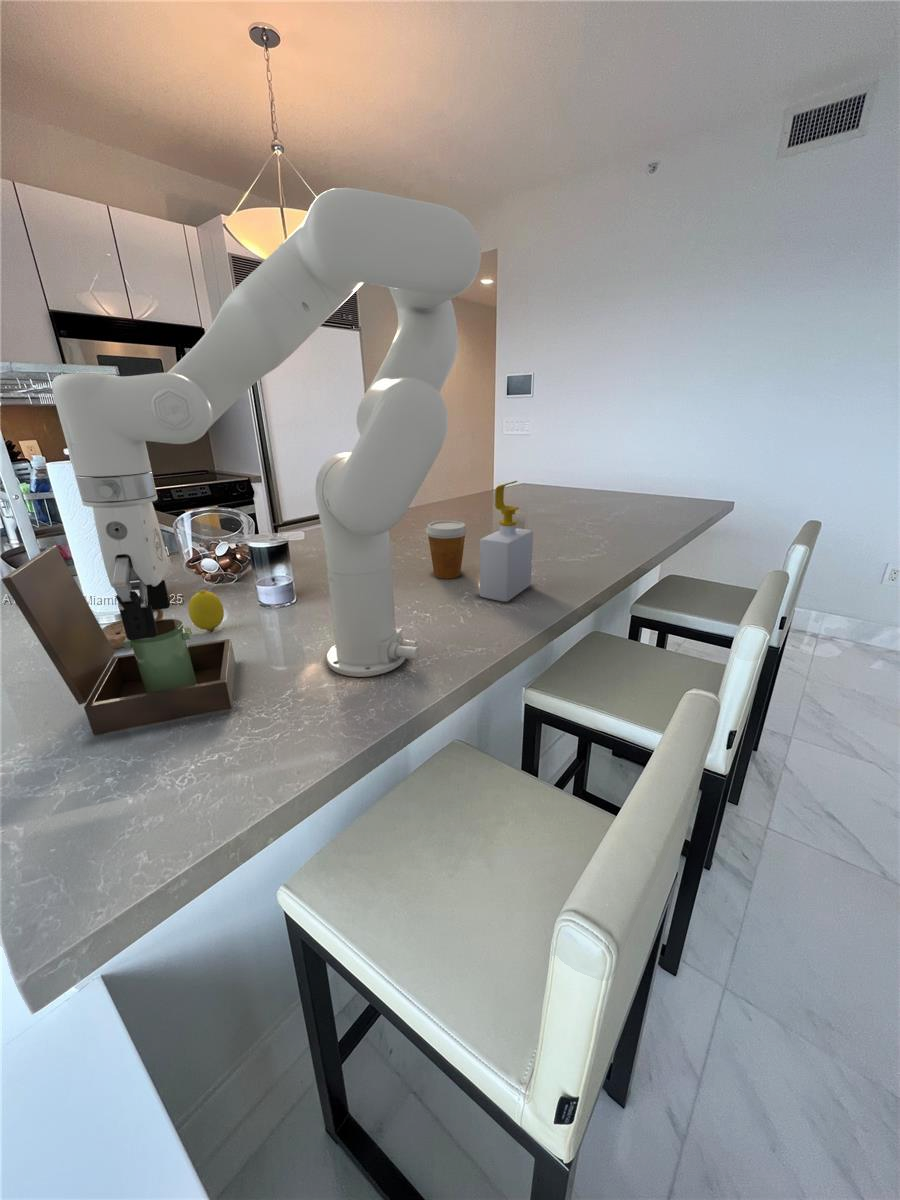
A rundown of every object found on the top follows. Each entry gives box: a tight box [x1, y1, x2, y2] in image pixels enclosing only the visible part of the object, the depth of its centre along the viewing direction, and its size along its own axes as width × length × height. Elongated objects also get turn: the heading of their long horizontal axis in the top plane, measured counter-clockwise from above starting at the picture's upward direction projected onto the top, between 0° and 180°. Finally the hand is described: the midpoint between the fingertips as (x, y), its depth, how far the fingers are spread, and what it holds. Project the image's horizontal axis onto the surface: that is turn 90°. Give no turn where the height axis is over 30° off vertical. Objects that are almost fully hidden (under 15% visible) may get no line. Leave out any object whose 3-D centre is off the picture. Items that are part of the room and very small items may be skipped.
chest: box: [83, 638, 236, 736], centre depth 67 cm, size 16×14×5 cm
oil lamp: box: [102, 609, 164, 651], centre depth 84 cm, size 13×8×5 cm, turn 151°
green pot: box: [123, 618, 197, 693], centre depth 66 cm, size 8×6×10 cm
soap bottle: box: [479, 480, 534, 603], centre depth 101 cm, size 12×7×23 cm, turn 147°
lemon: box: [188, 589, 225, 633], centre depth 87 cm, size 6×6×8 cm
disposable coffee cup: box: [425, 520, 468, 579], centre depth 114 cm, size 10×10×12 cm
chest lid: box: [1, 545, 116, 706], centre depth 60 cm, size 16×14×1 cm
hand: (150, 622), depth 64 cm, fingers open, 9 cm apart
